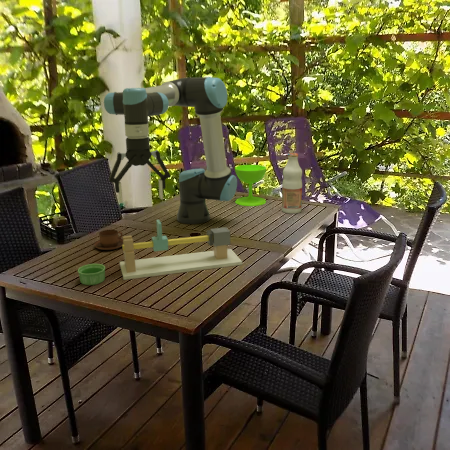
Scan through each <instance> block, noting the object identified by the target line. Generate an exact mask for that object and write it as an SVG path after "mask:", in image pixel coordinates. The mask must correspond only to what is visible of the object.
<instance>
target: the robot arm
mask: <svg viewBox="0 0 450 450" xmlns="http://www.w3.org/2000/svg"><path fill="white" fill-rule="evenodd" d="M227 103H228V90H227V87H226V85H225V83H224V81H222V79H221V78H219V77H211V76H206V77H205V76H203V77H202V76H201V77H199V76H198V77H197V76H196V77H182V78H177V79H173V80H169V81H165V82H162V84H160V85H156V86H151V87H150V86H149V87H126V88H124V89H123V90H122V91H121V92H117V91H114V92H108V93H107V94H106V95H105V96H104V99H103V107H104V110H105V111H106V112H107V113H108V114H110V115H115V116H117V115H118V116H119V115H120V116H121V115H122V116H123V117H124V132H125V137H126V139H125V146H126V152H125V153H124V152H120V151H119V152H117V154H116V161H115V163H114V165H113V167H112V170H111V172H110V175H109V177H108V181H109V182H110V183H113V184H114V190H115V193H118V197H119V199H118V200H119V202H120V204H123V203H124V202H123V192H122V191H123V190H122V183H121V181H122V179H123V178H124V176H125V175H126V173H127V172H128V171H129V169H131V167H132V166H134V167H135V166H136V167H138V166H145V165H146V164H147V165H148V167H150V168H151V170H152V171H153V172H154V173H155V174H156V175H157V176H158V177H159V178H158V195H159V199H160V200H164V193H163V192H164V191H163V190H165V189H166V186H167V185H166V180H167V179H168V178H171V173H170V172H169V169H167V167H166V165H165V163H164V162H163V159H162V157H161V153H160V150H158V149H155V150H154V151H153V150H152V151H151V149H150V147H151V146H150V138H149V137H148V136H150V131H149V117H153V116H161V115H163V114H165V113H166V112H167V111H168V109H169V107H174V106H175V107H177V106H178V107H184V108H185V107H187V108H194V113H195V115H196V116H197V117H199V122H200V131H201V135H202V144H203V149H204V157H205V164H206V170H205V169H204V168H192V169H188V170H184V171H182V172H180V173H179V175H178V177H179V178H178V184H179V186H178V187H179V202H180V204H179V206H178V210H177V214H176V219H177V222H179V223H181V224H185V225H186V224H189V225H193V224H194V225H195V224H202V223H206V222H208V221H210V211H209V209H208V205H207V203H206V200H211V201H219V202H229V201H231V200H233V198H234V196H235V194H236V192H237V187H238V177H237V175H234V174H232V170H231V168H230V167H229V166H227V160H226V159H227V158H226V149H225V143H224V134H223V125H222V119H221V117H222V116H221V114H222V112H223V111H224V107H225V106H226V105H227ZM152 156H153V158H155V159H156V161H157V162H158V164H159V166H160V168H161V169H162V171H163V173H164V174H162V172H161V171H160V170H159V169H158V168H157V167H156V166H155V165H154V164H153V163H152V162H151V161H150V159H151V158H152ZM124 158H126V160H128V161H127V162H126V163H125V165H124V166H123V167H122V168H121V171H120V172H119V173H118V174H117V172H118V171H119V167H120V166H121V162H122V161H124ZM116 174H117V176H116Z"/></svg>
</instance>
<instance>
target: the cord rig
mask: <svg viewBox="0 0 450 450" xmlns="http://www.w3.org/2000/svg"><path fill="white" fill-rule="evenodd" d="M122 239H123V245H122V246H121V247H122V251H123V259H124V260H123V261H122V260H121V261H119V267H120V271H121V274H122V279H123V281H125V280H132V279H133V280H134V279H142V278H149V277H156V276H157V277H158V276H163V275H170V274H171V275H172V274H178V273H179V274H180V273H187V272H196V271H204V270H209V269H210V270H211V269H218V268H219V269H220V268H228V267H236V266H243V260H242V259H240V257H239V256H238V255H237V254H236V253H235V252H234V251H233V250H232V248H228V246H230V245H231V231H230V229H228V227H226V226H225V227H217V228H210V230H209V229H208V230H206V235H198V236H192V237H189V236H188V237H180V238H178V237H177V238H172V239H171V238H170V239H168V246H176V245H183V244H184V245H185V244H193V243H201V242H206V243H207V244H208V245H209V246H210V247H211V246H213V250H209V251H200V252H192V253H182V254H174V255H165V256H157V257H148V258H140V259H136V256H135V250H141V249H148V248H152V247H154V245H153V241H152V240H151V241H144V242H143V241H142V242H134V239H133V236H132V235H124V236H123V235H122Z"/></svg>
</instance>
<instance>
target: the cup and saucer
mask: <svg viewBox="0 0 450 450" xmlns="http://www.w3.org/2000/svg"><path fill="white" fill-rule="evenodd" d="M119 234H120V236H119ZM123 235H124V234H123V232H122V231H118V230H116V229H105V230H104V229H103V230H101V231H99V232H98V237H99V239H98V240H96V241H95V242H94V243H93V246H94V247H95V248H96V249H98V250H101V251H112V250H115V249H119V248H121V247H122V245H123Z"/></svg>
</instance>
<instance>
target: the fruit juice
mask: <svg viewBox="0 0 450 450" xmlns="http://www.w3.org/2000/svg"><path fill="white" fill-rule="evenodd" d="M287 158H288V159H287V162H286V165H285V167H284V168H283V170H282V176H283V180H282V189H281V199H282V200H281V211H282V212H283V213H284V214H289V215H290V214H291V215H292V214H295V215H296V214H299V213H301V212H302V207H303V206H302V205H303V204H302V203H303V201H302V199H303V198H302V197H303V180H302V176H303V169H302V168H301V166H300V163H299V159H298V158H299V153H296V152H289V153H287Z"/></svg>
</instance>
